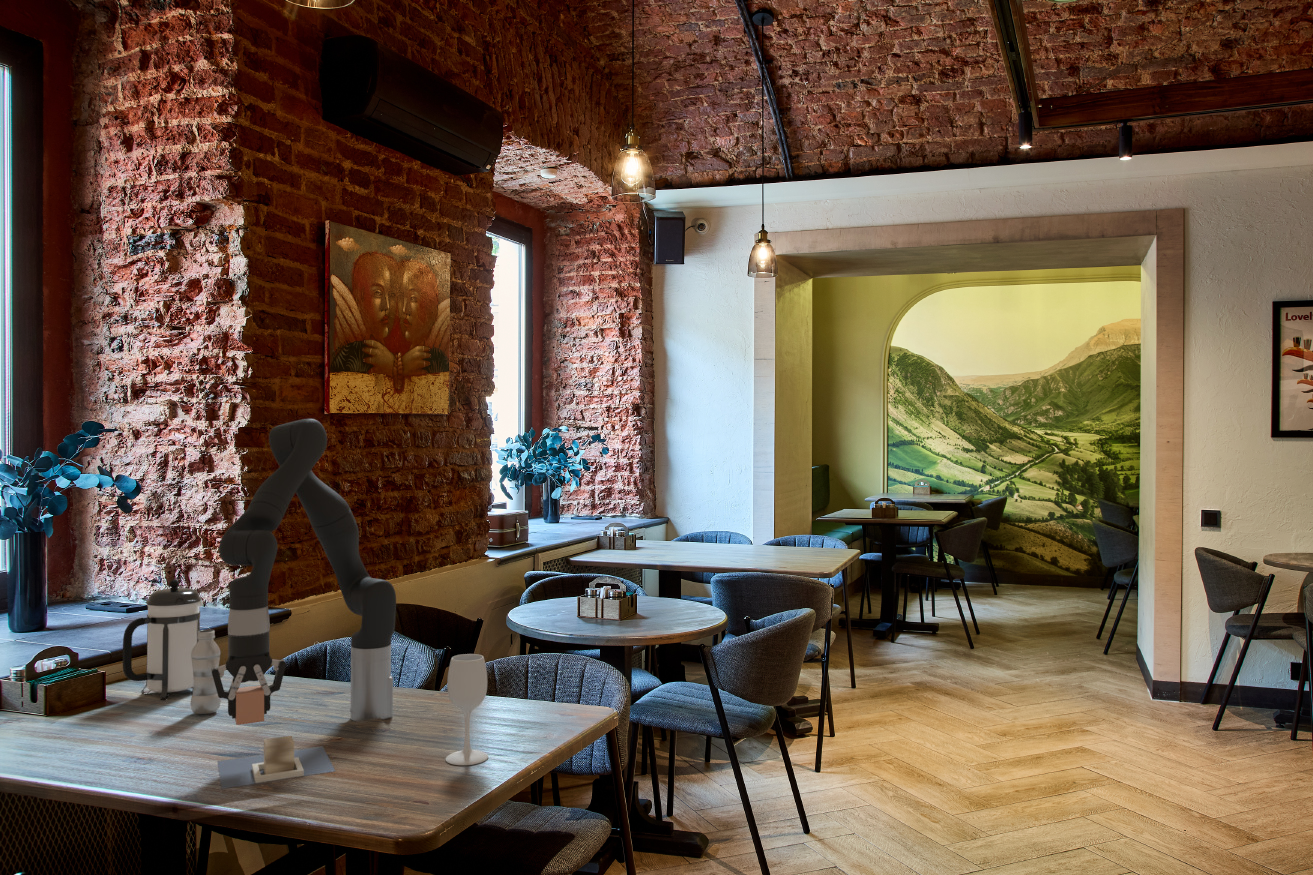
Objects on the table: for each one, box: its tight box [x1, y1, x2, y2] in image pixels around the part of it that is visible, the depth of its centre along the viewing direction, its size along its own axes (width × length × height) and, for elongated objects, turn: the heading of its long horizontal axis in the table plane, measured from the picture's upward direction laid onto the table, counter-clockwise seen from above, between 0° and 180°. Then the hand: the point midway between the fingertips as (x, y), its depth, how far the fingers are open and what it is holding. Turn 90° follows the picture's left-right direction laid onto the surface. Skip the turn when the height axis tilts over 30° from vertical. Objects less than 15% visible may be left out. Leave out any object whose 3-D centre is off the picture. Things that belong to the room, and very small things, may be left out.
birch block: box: [263, 735, 295, 774], centre depth 175 cm, size 5×5×6 cm
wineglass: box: [445, 653, 489, 766], centre depth 188 cm, size 9×9×21 cm
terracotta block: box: [234, 684, 265, 726], centre depth 180 cm, size 5×5×6 cm
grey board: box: [217, 746, 336, 790], centre depth 179 cm, size 20×17×2 cm
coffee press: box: [122, 579, 204, 701], centre depth 238 cm, size 17×16×30 cm
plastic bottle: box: [189, 629, 222, 715], centre depth 220 cm, size 6×7×20 cm
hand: (249, 714), depth 180 cm, fingers closed on terracotta block, 5 cm apart
